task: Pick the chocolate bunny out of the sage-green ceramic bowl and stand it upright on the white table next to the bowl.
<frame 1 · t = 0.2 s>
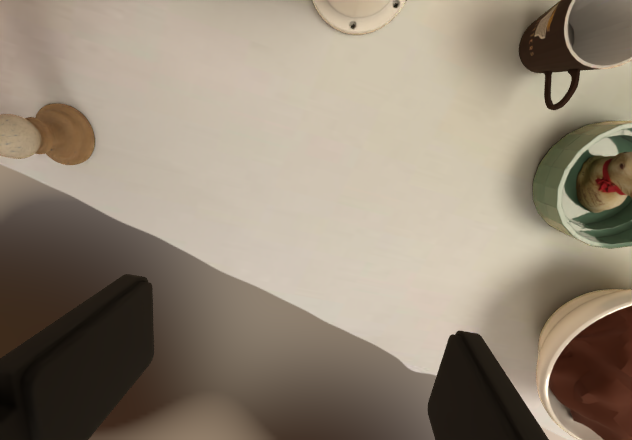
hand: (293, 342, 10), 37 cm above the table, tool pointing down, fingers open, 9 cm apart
coffee mug: (535, 55, 38), on the table
candle holder: (69, 134, 46), on the table
cream round dish: (590, 332, 48), on the table
bowl: (591, 180, 42), on the table
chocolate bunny: (592, 180, 42), resting on bowl
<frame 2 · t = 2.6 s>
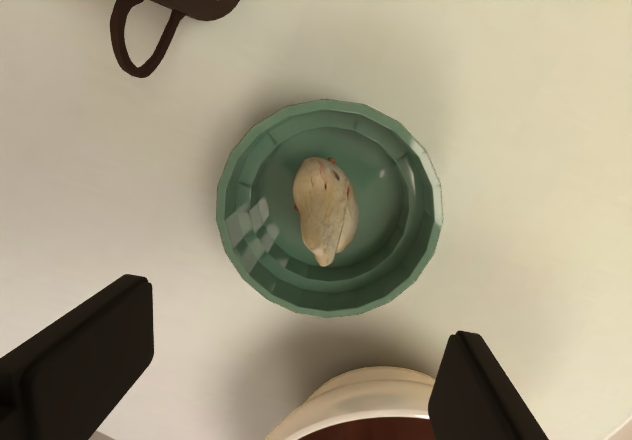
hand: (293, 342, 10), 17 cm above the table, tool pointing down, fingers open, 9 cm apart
cream round dish: (381, 419, 33), on the table
bowl: (329, 201, 26), on the table
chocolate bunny: (329, 201, 26), resting on bowl
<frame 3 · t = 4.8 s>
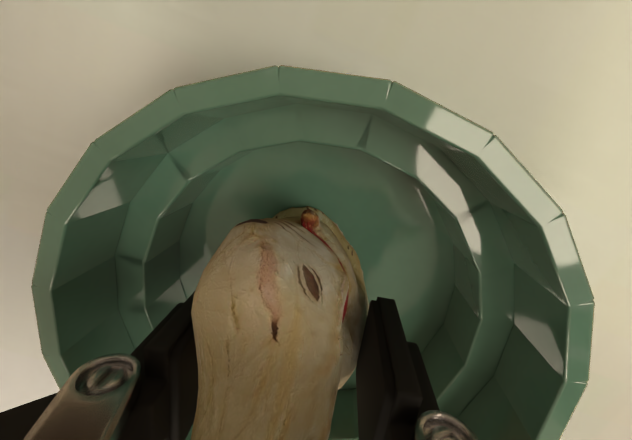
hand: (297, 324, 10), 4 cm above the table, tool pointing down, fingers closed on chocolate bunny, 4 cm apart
bowl: (312, 276, 14), on the table
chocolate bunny: (312, 278, 14), resting on bowl, touching gripper
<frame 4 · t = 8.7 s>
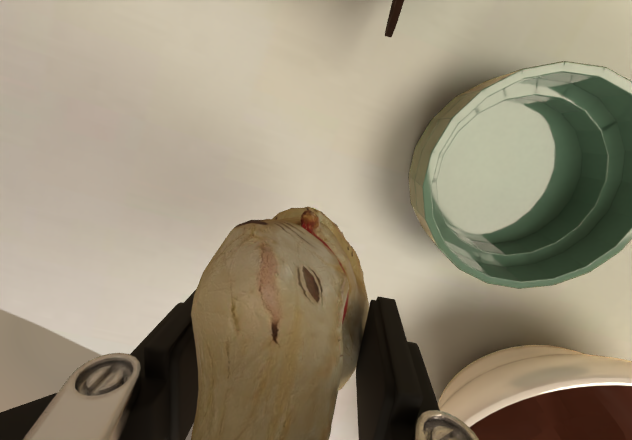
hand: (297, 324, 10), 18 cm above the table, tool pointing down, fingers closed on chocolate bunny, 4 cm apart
cream round dish: (515, 402, 33), on the table
bowl: (500, 175, 26), on the table
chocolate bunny: (312, 279, 14), point 15 cm above the table, touching gripper
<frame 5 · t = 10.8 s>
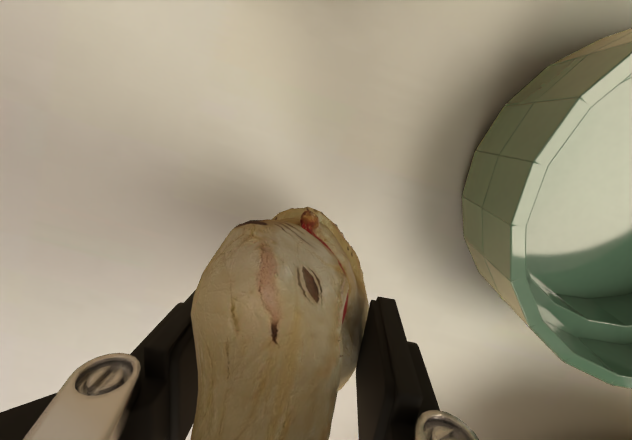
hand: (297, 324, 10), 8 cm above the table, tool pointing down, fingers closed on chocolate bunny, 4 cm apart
bowl: (609, 193, 16), on the table
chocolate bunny: (312, 279, 14), point 5 cm above the table, touching gripper
when the fingers open (3 cm above the table, at t = 12.5 s): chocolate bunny stays where it is, on the table.
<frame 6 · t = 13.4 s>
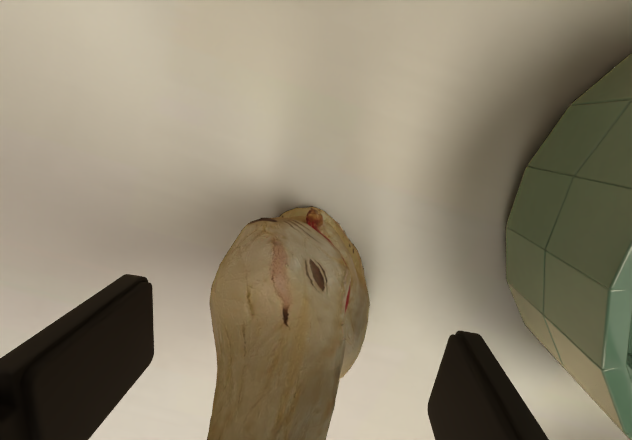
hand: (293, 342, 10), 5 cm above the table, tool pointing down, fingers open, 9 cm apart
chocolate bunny: (315, 275, 14), on the table
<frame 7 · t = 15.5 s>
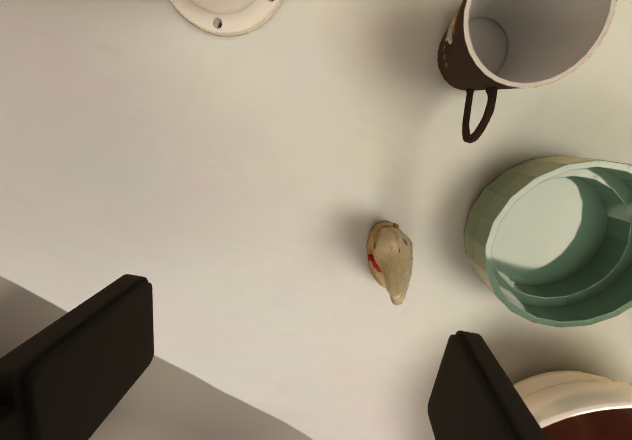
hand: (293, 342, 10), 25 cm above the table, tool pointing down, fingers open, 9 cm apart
coffee mug: (460, 67, 29), on the table
cream round dish: (548, 418, 38), on the table
bowl: (540, 231, 32), on the table
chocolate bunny: (386, 250, 34), on the table
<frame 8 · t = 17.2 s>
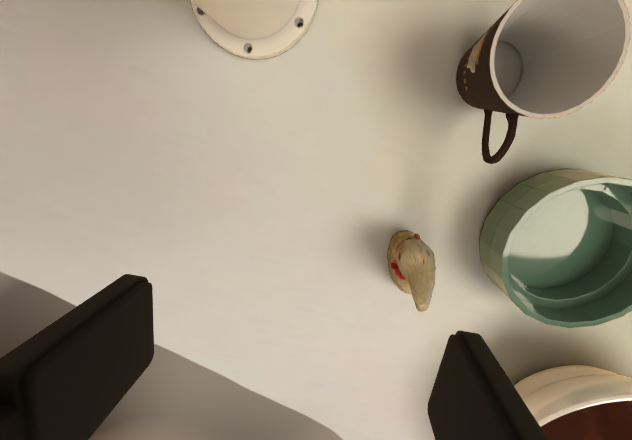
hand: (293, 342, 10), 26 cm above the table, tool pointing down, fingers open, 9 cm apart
coffee mug: (477, 87, 31), on the table
cream round dish: (555, 408, 41), on the table
bowl: (550, 237, 34), on the table
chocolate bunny: (405, 257, 36), on the table
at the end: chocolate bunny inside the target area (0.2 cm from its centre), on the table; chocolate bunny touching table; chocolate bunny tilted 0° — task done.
